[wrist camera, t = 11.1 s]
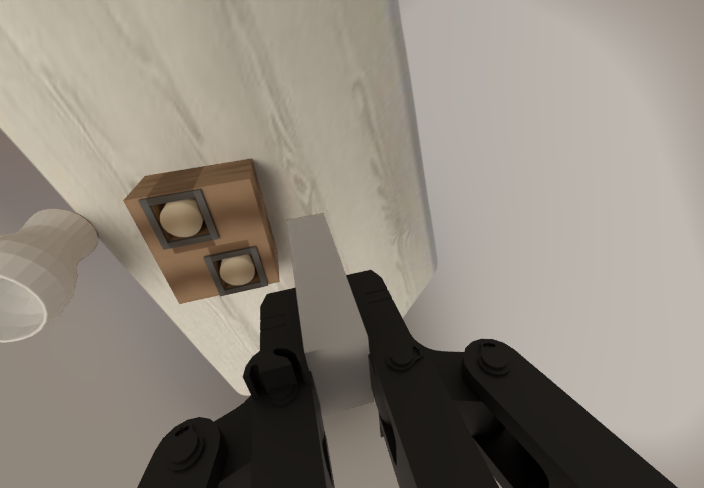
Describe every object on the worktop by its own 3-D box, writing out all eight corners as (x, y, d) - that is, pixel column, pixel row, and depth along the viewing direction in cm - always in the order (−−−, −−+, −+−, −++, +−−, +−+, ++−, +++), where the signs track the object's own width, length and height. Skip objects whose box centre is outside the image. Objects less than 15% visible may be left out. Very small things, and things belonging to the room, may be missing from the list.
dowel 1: (169, 182, 43) (153, 207, 36) (204, 176, 43) (193, 200, 37) (182, 211, 45) (169, 240, 39) (215, 206, 46) (207, 233, 39)
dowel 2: (221, 232, 48) (215, 262, 42) (251, 227, 49) (249, 255, 42) (230, 256, 51) (225, 288, 44) (258, 250, 51) (258, 281, 45)
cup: (24, 183, 39) (-84, 247, 27) (121, 220, 44) (67, 288, 32) (5, 247, 43) (-100, 330, 30) (97, 275, 48) (39, 356, 35)
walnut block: (145, 176, 42) (121, 202, 35) (251, 158, 44) (249, 180, 37) (190, 270, 51) (178, 306, 44) (277, 252, 53) (279, 283, 46)
